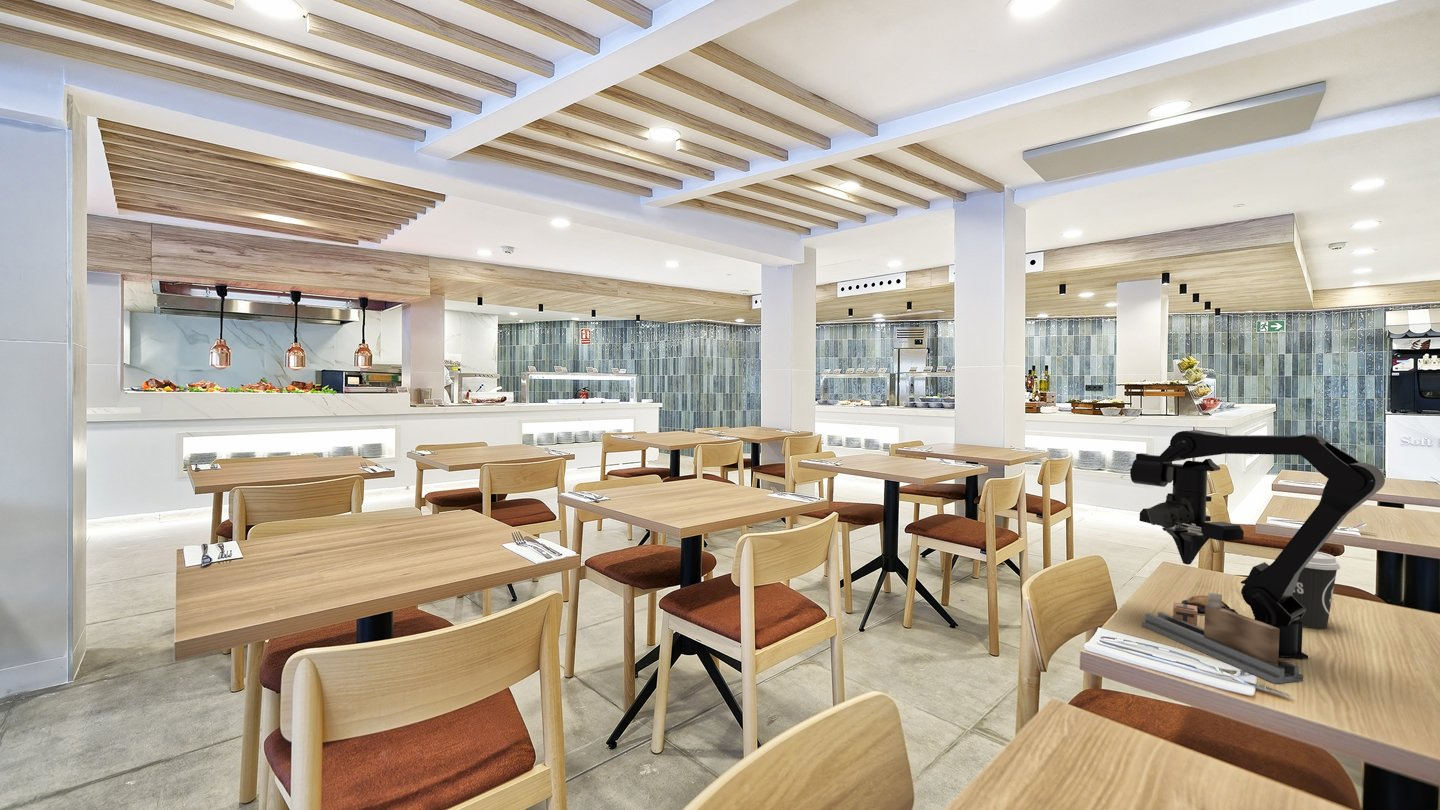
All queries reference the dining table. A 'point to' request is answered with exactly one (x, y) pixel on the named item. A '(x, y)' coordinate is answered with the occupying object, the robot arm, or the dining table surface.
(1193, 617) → the lettered cube
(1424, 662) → the dining table surface
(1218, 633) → the screen
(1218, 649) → the track
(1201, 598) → the bread roll
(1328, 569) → the coffee cup
